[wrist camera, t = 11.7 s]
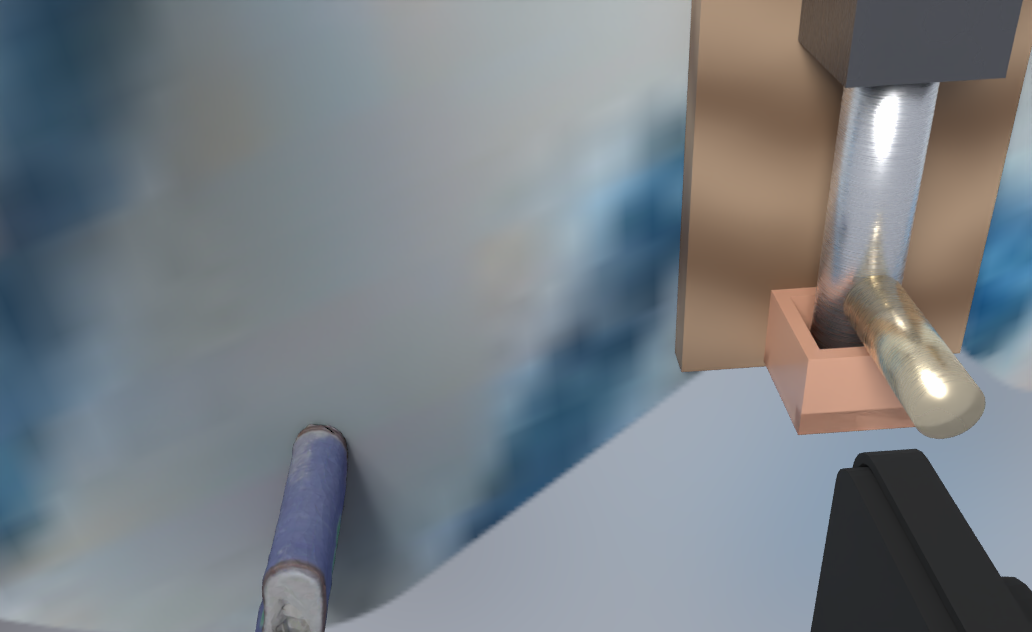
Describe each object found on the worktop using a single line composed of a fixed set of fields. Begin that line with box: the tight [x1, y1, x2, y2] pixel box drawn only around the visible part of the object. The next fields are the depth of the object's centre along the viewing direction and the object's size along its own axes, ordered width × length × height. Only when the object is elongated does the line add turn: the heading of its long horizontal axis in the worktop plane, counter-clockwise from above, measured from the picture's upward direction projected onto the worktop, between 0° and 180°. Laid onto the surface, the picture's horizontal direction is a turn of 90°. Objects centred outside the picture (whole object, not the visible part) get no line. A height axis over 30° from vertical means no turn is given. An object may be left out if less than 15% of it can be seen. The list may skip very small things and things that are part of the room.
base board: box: [675, 0, 1032, 372], centre depth 37 cm, size 23×12×2 cm, turn 3°
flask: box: [255, 424, 348, 632], centre depth 42 cm, size 9×3×11 cm, turn 164°
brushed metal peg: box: [810, 82, 985, 439], centre depth 33 cm, size 15×3×10 cm, turn 3°
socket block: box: [764, 287, 915, 435], centre depth 39 cm, size 4×5×5 cm
